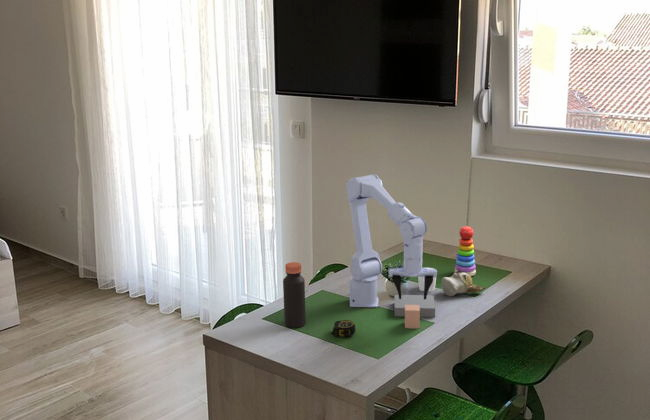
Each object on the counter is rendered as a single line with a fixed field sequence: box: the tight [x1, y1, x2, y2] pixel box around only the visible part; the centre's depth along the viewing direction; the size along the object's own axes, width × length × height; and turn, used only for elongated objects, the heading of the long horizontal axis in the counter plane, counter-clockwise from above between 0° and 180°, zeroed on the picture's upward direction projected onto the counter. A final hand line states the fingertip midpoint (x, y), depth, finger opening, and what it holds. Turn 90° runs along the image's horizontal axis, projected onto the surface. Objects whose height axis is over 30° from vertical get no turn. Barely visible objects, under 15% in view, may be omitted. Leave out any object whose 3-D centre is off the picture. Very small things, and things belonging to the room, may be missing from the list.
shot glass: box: [417, 267, 437, 293], centre depth 247 cm, size 7×7×7 cm
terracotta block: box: [404, 305, 421, 329], centre depth 218 cm, size 4×4×6 cm
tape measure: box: [331, 319, 356, 338], centre depth 212 cm, size 7×7×4 cm
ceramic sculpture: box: [441, 270, 486, 297], centre depth 242 cm, size 11×9×15 cm
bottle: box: [282, 261, 307, 329], centre depth 218 cm, size 7×7×20 cm
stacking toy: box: [454, 225, 477, 277], centre depth 259 cm, size 8×8×19 cm
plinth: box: [394, 294, 436, 318], centre depth 229 cm, size 13×11×3 cm
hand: (412, 298), depth 216 cm, fingers open, 7 cm apart
